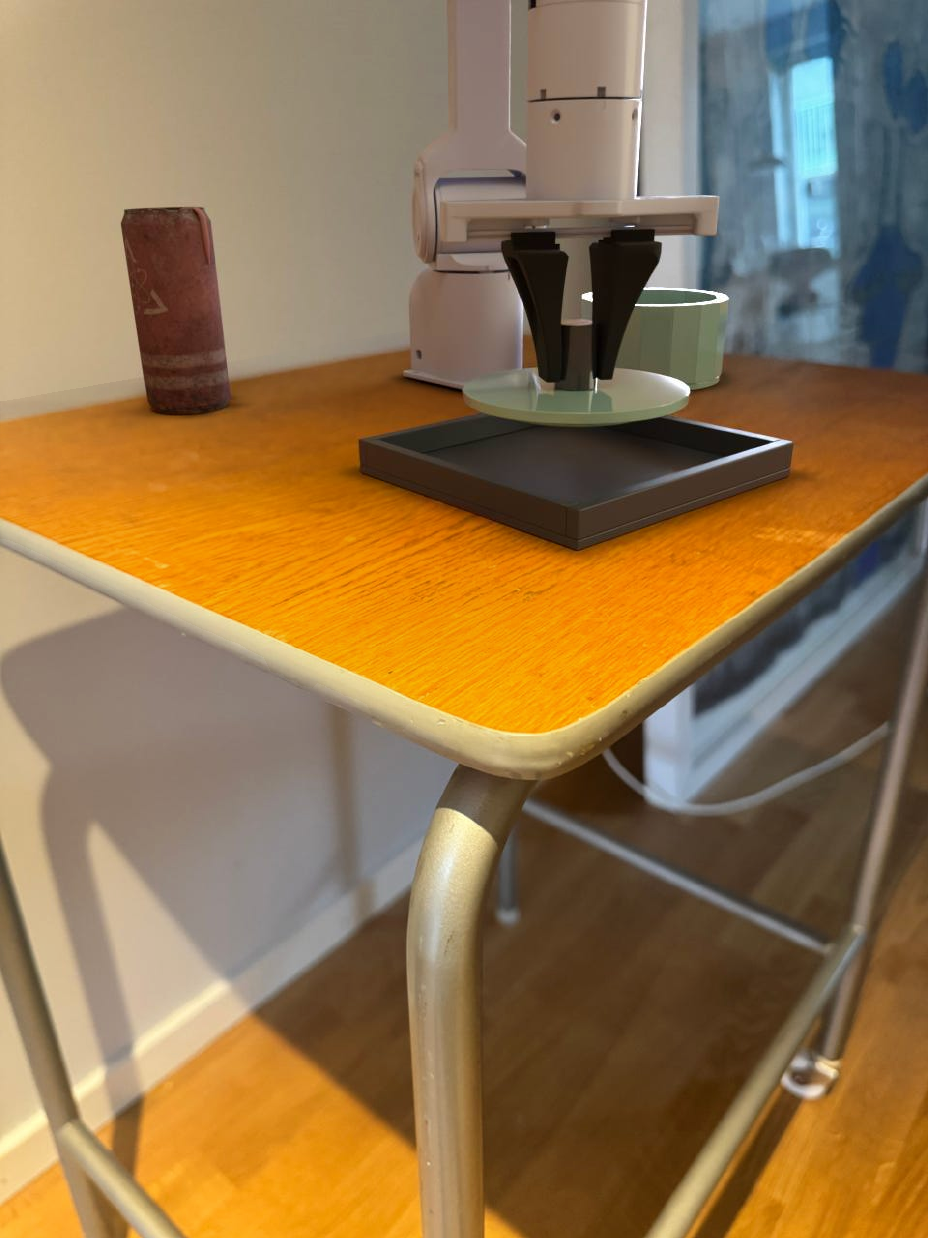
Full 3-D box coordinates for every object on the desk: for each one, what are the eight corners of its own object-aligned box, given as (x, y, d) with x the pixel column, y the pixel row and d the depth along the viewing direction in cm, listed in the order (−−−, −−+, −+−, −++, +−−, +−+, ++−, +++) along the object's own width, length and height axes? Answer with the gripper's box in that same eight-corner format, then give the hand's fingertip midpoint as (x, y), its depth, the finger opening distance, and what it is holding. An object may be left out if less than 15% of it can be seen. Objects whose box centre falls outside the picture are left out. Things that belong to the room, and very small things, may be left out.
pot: (556, 384, 80) (558, 301, 77) (609, 360, 89) (613, 285, 86) (695, 397, 75) (702, 309, 72) (736, 371, 84) (744, 291, 81)
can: (214, 416, 71) (188, 207, 65) (133, 414, 72) (101, 208, 66) (247, 398, 76) (226, 204, 71) (172, 396, 78) (145, 205, 72)
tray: (359, 472, 58) (357, 438, 57) (567, 422, 68) (568, 393, 67) (577, 550, 46) (578, 510, 45) (789, 475, 56) (794, 441, 55)
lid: (420, 420, 53) (417, 331, 51) (523, 378, 63) (524, 302, 61) (641, 447, 47) (648, 348, 45) (716, 397, 57) (724, 313, 55)
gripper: (454, 97, 44) (459, 400, 50) (755, 96, 46) (727, 385, 52) (430, 106, 50) (437, 373, 56) (696, 105, 53) (677, 361, 58)
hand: (574, 378), depth 55 cm, fingers closed on lid, 2 cm apart
